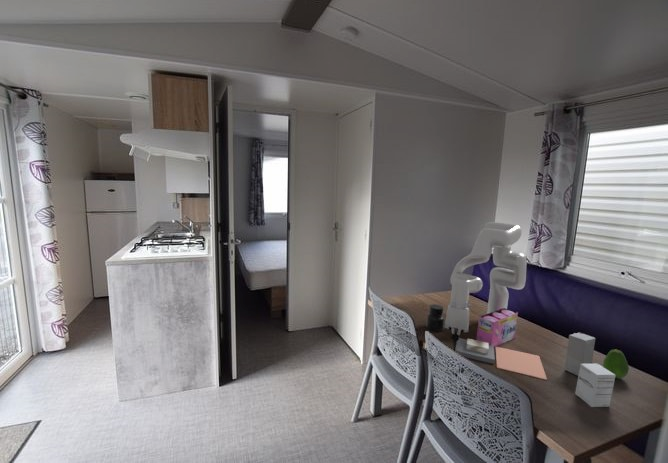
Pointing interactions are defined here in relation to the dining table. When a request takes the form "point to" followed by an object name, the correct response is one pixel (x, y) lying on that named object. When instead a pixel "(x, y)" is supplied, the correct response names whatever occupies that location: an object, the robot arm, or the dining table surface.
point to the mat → (519, 362)
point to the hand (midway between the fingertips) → (455, 341)
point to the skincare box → (579, 352)
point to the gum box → (497, 327)
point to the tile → (477, 346)
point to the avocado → (616, 363)
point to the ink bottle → (435, 318)
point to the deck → (475, 352)
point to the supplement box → (595, 385)
